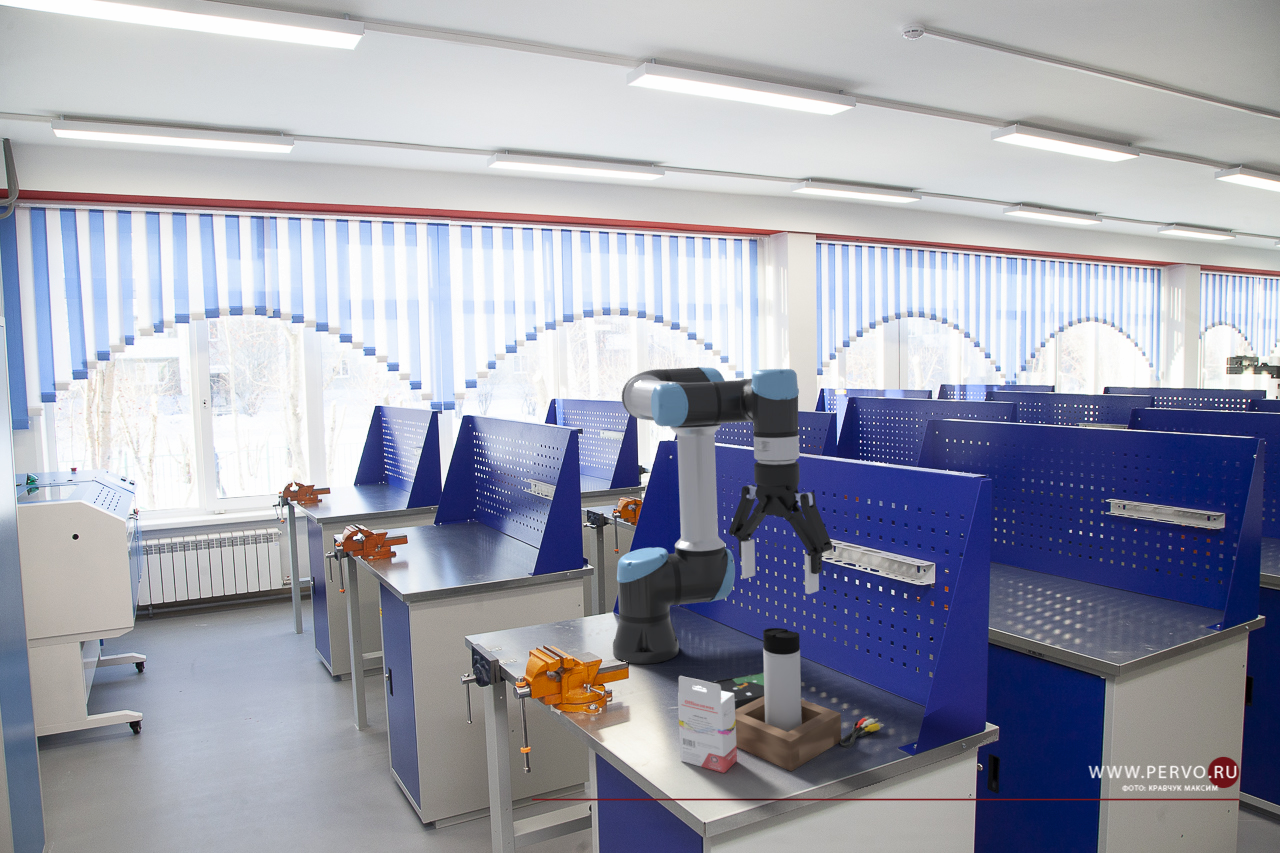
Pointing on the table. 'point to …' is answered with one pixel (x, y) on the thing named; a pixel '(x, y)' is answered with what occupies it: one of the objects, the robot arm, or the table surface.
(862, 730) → the composite cable
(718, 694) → the ink cartridge box
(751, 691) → the disk drive
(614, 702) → the table surface
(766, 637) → the travel mug
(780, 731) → the mug holder
